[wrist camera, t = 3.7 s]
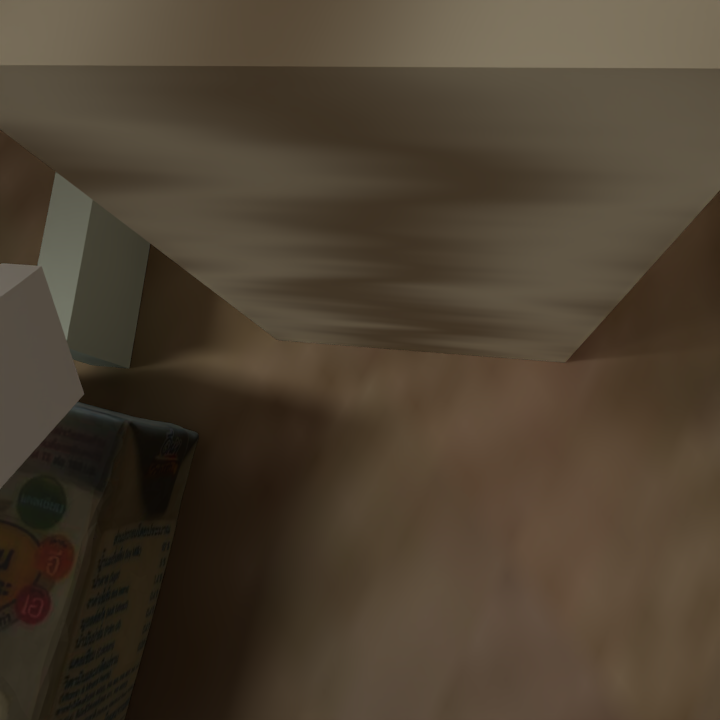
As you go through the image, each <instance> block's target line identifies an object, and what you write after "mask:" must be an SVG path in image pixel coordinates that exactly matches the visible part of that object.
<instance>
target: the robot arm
mask: <svg viewBox="0 0 720 720" xmlns="http://www.w3.org/2000/svg"><path fill="white" fill-rule="evenodd" d="M83 395H84V392H83V389H82V386H81V383H80V380H79V377H78V374H77V371H76V368H75V365H74V362H73V359H72V356H71V353H70V350H69V347H68V344H67V341H66V338H65V335H64V332H63V329H62V326H61V323H60V320H59V317H58V314H57V311H56V308H55V305H54V302H53V298H52V295H51V292H50V289H49V286H48V283H47V280H46V277H45V274H44V271H43V268H42V266H34V265H20V264H6V263H2V264H0V489H1V487H2V486H3V485H4V484H5V483H6V482H7V481H8V479H9V478H10V477H11V476H12V475H13V474H14V473H15V472H16V470H17V469H18V468H19V467H20V466H21V465H22V464H23V463H24V461H25V460H26V459H27V458H28V457H29V456H30V455H31V454H32V452H33V451H34V450H35V449H36V448H37V447H38V446H39V445H40V443H41V442H42V441H43V440H44V439H45V438H46V437H47V436H48V434H49V433H50V432H51V431H52V430H53V429H54V428H55V427H56V425H57V424H58V423H59V422H60V421H61V420H62V419H63V418H64V416H65V415H66V414H67V413H68V412H69V411H70V410H71V408H72V407H73V406H74V405H75V404H76V403H77V402H78V401H79V399H80V398H81V397H82V396H83Z"/></svg>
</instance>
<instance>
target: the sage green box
mask: <svg viewBox="0 0 720 720" xmlns="http://www.w3.org/2000/svg"><path fill="white" fill-rule="evenodd" d="M149 249H150V243H149V242H148V241H146V240H145V239H144V238H142V237H141V236H140V235H138V234H137V233H136V232H135V231H133V230H132V229H131V228H129V227H128V226H127V225H125V224H124V223H123V222H121V221H120V220H119V219H117V218H116V217H115V216H113V215H112V214H111V213H110V212H108V211H107V210H106V209H104V208H103V207H102V206H100V205H99V204H98V203H96V202H95V201H94V200H92V199H91V198H90V197H88V196H87V195H86V194H84V193H83V192H82V191H81V190H79V189H78V188H77V187H75V186H74V185H73V184H71V183H70V182H69V181H67V180H66V179H65V178H63V177H62V176H61V175H59V174H58V173H57V172H56V173H55V179H54V184H53V189H52V194H51V199H50V204H49V209H48V214H47V219H46V224H45V229H44V234H43V240H42V245H41V250H40V255H39V260H38V265H37V266H42V268H43V271H44V274H45V277H46V280H47V283H48V286H49V289H50V292H51V295H52V298H53V302H54V305H55V308H56V311H57V314H58V317H59V320H60V323H61V326H62V329H63V332H64V335H65V338H66V341H67V344H68V347H69V350H70V353H71V356H72V359H74V360H77V361H80V362H83V363H87V364H90V365H95V366H107V367H118V368H130V362H131V356H132V350H133V344H134V338H135V332H136V326H137V320H138V314H139V308H140V302H141V296H142V290H143V284H144V278H145V273H146V267H147V261H148V255H149Z"/></svg>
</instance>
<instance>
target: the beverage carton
mask: <svg viewBox="0 0 720 720" xmlns="http://www.w3.org/2000/svg"><path fill="white" fill-rule="evenodd" d="M198 439H199V435H198V434H197V432H194V431H190V430H187V429H184V428H182V427H181V426H178V425H175V424H172V423H167V422H160V421H153V420H148V419H143V418H137V417H132V416H129V415H126V414H122V413H118V412H114V411H111V410H107V409H103V408H99V407H95V406H91V405H88V404H84V403H81V402H77V403H76V404H75V405H74V406H73V407H72V408H71V410H70V411H69V412H68V413H67V414H66V415H65V416H64V418H63V419H62V420H61V421H60V422H59V423H58V424H57V425H56V427H55V428H54V429H53V430H52V431H51V432H50V433H49V434H48V436H47V437H46V438H45V439H44V440H43V441H42V442H41V443H40V445H39V446H38V447H37V448H36V449H35V450H34V451H33V452H32V454H31V455H30V456H29V457H28V458H27V459H26V460H25V461H24V463H23V464H22V465H21V466H20V467H19V468H18V469H17V470H16V472H15V473H14V474H13V475H12V476H11V477H10V478H9V479H8V481H7V482H6V483H5V484H4V485H3V486H2V487H1V489H0V720H125V717H126V713H127V709H128V705H129V701H130V697H131V694H132V690H133V686H134V683H135V680H136V676H137V672H138V669H139V665H140V661H141V658H142V654H143V650H144V647H145V643H146V639H147V636H148V632H149V628H150V625H151V621H152V617H153V613H154V610H155V606H156V602H157V598H158V595H159V591H160V587H161V583H162V579H163V576H164V572H165V568H166V564H167V561H168V557H169V553H170V549H171V545H172V541H173V537H174V533H175V528H176V523H177V519H178V514H179V509H180V505H181V500H182V496H183V493H184V489H185V486H186V482H187V478H188V474H189V470H190V466H191V462H192V458H193V455H194V452H195V448H196V445H197V442H198Z"/></svg>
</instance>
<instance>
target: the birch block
mask: <svg viewBox="0 0 720 720" xmlns="http://www.w3.org/2000/svg"><path fill="white" fill-rule="evenodd" d="M0 130H2V131H3V132H4V133H6V134H7V135H8V136H9V137H11V138H12V139H13V140H15V141H16V142H17V143H19V144H20V145H21V146H23V147H24V148H25V149H27V150H28V151H29V152H31V153H32V154H33V155H34V156H36V157H37V158H38V159H40V160H41V161H42V162H44V163H45V164H46V165H48V166H49V167H50V168H52V169H53V170H54V171H56V172H57V173H58V174H59V175H61V176H62V177H63V178H65V179H66V180H67V181H69V182H70V183H71V184H73V185H74V186H75V187H77V188H78V189H79V190H81V191H82V192H83V193H84V194H86V195H87V196H88V197H90V198H91V199H92V200H94V201H95V202H96V203H98V204H99V205H100V206H102V207H103V208H104V209H106V210H107V211H108V212H110V213H111V214H112V215H113V216H115V217H116V218H117V219H119V220H120V221H121V222H123V223H124V224H125V225H127V226H128V227H129V228H131V229H132V230H133V231H135V232H136V233H137V234H138V235H140V236H141V237H142V238H144V239H145V240H146V241H148V242H149V243H150V244H152V245H153V246H154V247H156V248H157V249H158V250H160V251H161V252H162V253H163V254H165V255H166V256H167V257H169V258H170V259H171V260H173V261H174V262H175V263H177V264H178V265H179V266H181V267H182V268H183V269H185V270H186V271H187V272H188V273H190V274H191V275H192V276H194V277H195V278H196V279H198V280H199V281H200V282H202V283H203V284H204V285H206V286H207V287H208V288H210V289H211V290H212V291H213V292H215V293H216V294H217V295H219V296H220V297H221V298H223V299H224V300H225V301H227V302H228V303H229V304H231V305H232V306H233V307H235V308H236V309H237V310H238V311H240V312H241V313H242V314H244V315H245V316H246V317H248V318H249V319H250V320H252V321H253V322H254V323H256V324H257V325H258V326H260V327H261V328H262V329H263V330H265V331H266V332H267V333H269V334H270V335H271V336H273V337H274V338H275V339H277V340H281V341H294V342H307V343H320V344H332V345H345V346H358V347H371V348H384V349H396V350H409V351H422V352H435V353H448V354H461V355H473V356H486V357H499V358H512V359H525V360H537V361H550V362H563V363H565V362H566V361H567V360H568V359H569V358H570V357H571V356H572V354H573V353H574V352H575V351H576V350H577V349H578V348H579V347H580V346H581V344H582V343H583V342H584V341H585V340H586V339H587V338H588V337H589V336H590V334H591V333H592V332H593V331H594V330H595V329H596V328H597V327H598V325H599V324H600V323H601V322H602V321H603V320H604V319H605V318H606V317H607V315H608V314H609V313H610V312H611V311H612V310H613V309H614V308H615V307H616V305H617V304H618V303H619V302H620V301H621V300H622V299H623V298H624V297H625V295H626V294H627V293H628V292H629V291H630V290H631V289H632V288H633V287H634V285H635V284H636V283H637V282H638V281H639V280H640V279H641V278H642V276H643V275H644V274H645V273H646V272H647V271H648V270H649V269H650V268H651V266H652V265H653V264H654V263H655V262H656V261H657V260H658V259H659V258H660V256H661V255H662V254H663V253H664V252H665V251H666V250H667V249H668V248H669V246H670V245H671V244H672V243H673V242H674V241H675V240H676V239H677V237H678V236H679V235H680V234H681V233H682V232H683V231H684V230H685V229H686V227H687V226H688V225H689V224H690V223H691V222H692V221H693V220H694V219H695V217H696V216H697V215H698V214H699V213H700V212H701V211H702V210H703V209H704V207H705V206H706V205H707V204H708V203H709V202H710V201H711V200H712V199H713V197H714V196H715V195H716V194H717V193H718V192H719V191H720V0H0Z"/></svg>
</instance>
